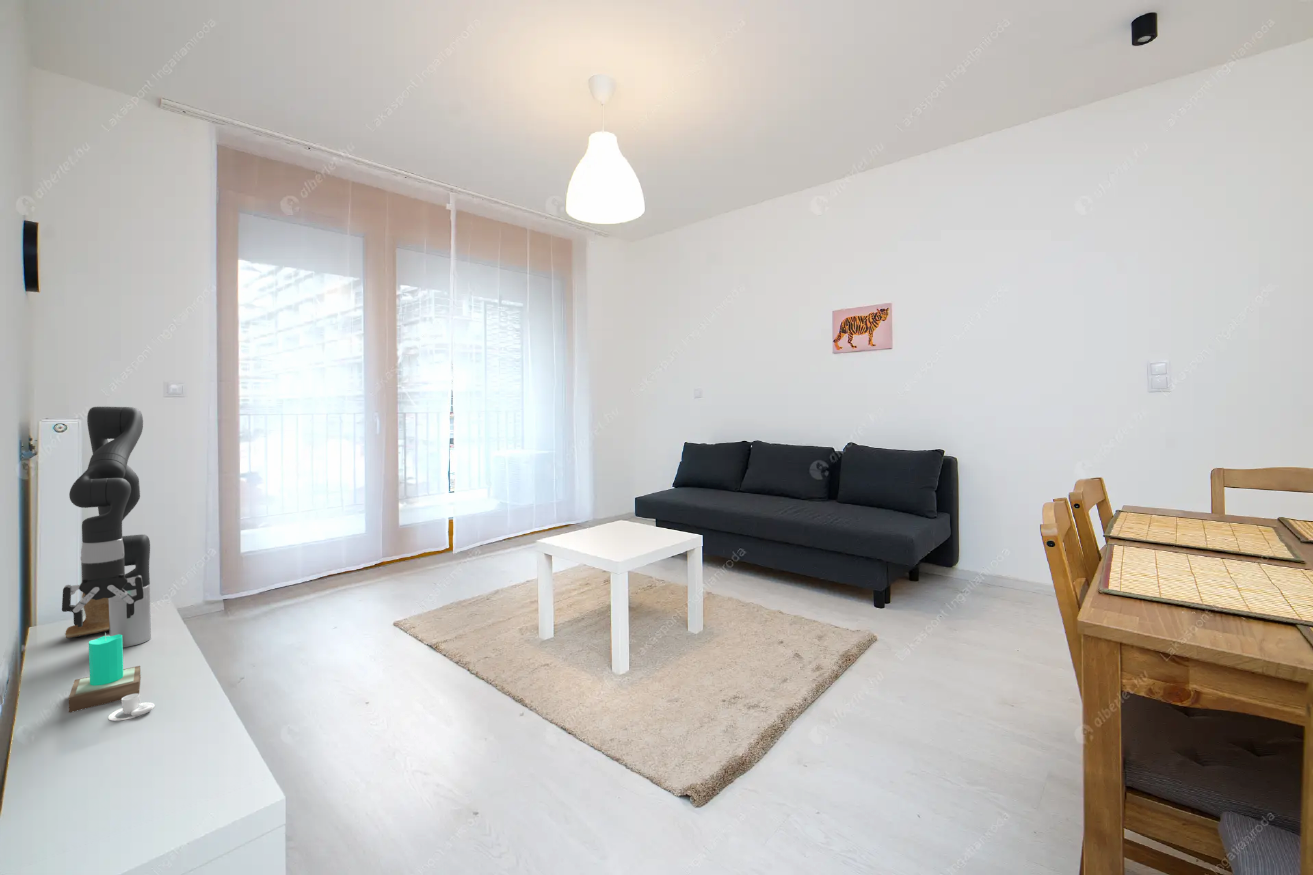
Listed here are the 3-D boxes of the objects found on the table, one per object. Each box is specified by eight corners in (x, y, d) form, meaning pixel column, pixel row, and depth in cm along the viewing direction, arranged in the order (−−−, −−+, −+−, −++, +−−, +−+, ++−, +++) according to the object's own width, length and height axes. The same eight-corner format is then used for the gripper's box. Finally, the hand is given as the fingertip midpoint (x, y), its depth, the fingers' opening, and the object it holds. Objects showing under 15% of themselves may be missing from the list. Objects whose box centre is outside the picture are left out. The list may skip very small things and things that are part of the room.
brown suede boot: (129, 619, 186) (128, 576, 186) (133, 628, 178) (132, 583, 178) (64, 632, 175) (63, 586, 174) (65, 642, 167) (64, 595, 166)
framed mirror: (75, 693, 137) (74, 678, 137) (140, 678, 145) (140, 664, 145) (68, 712, 128) (68, 697, 128) (139, 695, 136) (138, 680, 136)
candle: (130, 674, 139) (129, 628, 139) (104, 686, 133) (102, 638, 133) (109, 673, 140) (108, 627, 139) (82, 684, 134) (81, 637, 133)
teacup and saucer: (156, 714, 128) (155, 697, 128) (108, 728, 122) (108, 710, 122) (153, 700, 134) (152, 684, 134) (107, 713, 128) (107, 696, 128)
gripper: (142, 550, 143) (144, 610, 143) (63, 559, 133) (65, 624, 134) (142, 556, 137) (143, 619, 138) (58, 566, 127) (60, 633, 128)
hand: (105, 621), depth 136 cm, fingers open, 8 cm apart
